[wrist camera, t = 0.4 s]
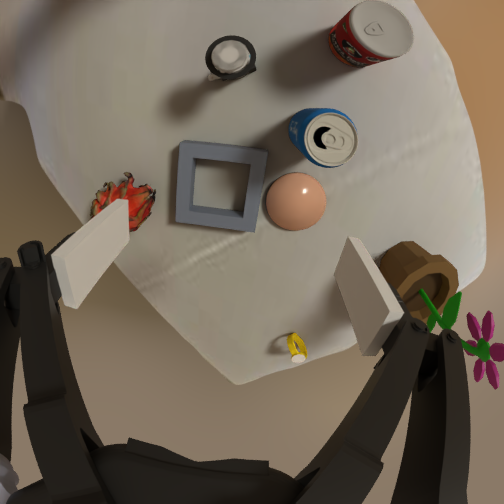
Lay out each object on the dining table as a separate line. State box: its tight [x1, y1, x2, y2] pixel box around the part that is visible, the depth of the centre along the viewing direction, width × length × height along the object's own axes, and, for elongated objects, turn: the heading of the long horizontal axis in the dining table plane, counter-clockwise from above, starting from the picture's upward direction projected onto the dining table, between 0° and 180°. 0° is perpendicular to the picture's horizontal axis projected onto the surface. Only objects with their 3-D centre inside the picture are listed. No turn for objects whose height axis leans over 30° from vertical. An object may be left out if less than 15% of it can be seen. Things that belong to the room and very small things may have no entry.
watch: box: [287, 333, 307, 363], centre depth 52 cm, size 6×3×6 cm, turn 37°
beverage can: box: [289, 108, 358, 168], centre depth 29 cm, size 6×6×12 cm
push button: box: [205, 36, 256, 81], centre depth 26 cm, size 7×5×10 cm
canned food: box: [329, 0, 414, 67], centre depth 23 cm, size 8×8×11 cm
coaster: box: [266, 172, 326, 230], centre depth 40 cm, size 9×9×1 cm
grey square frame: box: [176, 140, 268, 233], centre depth 38 cm, size 12×12×2 cm
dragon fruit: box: [90, 172, 156, 232], centre depth 37 cm, size 8×8×12 cm
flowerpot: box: [379, 241, 504, 389], centre depth 32 cm, size 14×14×30 cm
